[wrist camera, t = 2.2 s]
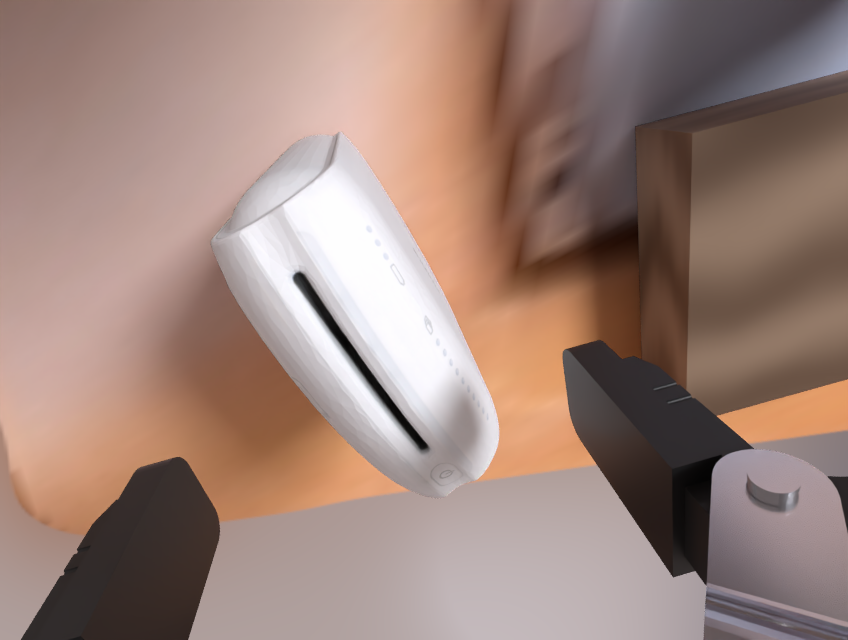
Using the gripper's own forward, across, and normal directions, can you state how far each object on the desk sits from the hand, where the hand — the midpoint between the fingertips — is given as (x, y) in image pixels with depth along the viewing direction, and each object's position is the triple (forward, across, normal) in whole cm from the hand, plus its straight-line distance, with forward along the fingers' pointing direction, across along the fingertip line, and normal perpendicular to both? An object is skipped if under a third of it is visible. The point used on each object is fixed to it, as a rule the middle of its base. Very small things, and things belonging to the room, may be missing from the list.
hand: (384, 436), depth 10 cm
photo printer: (+14, 0, 0) cm, 14 cm away
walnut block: (+13, -20, +5) cm, 25 cm away
